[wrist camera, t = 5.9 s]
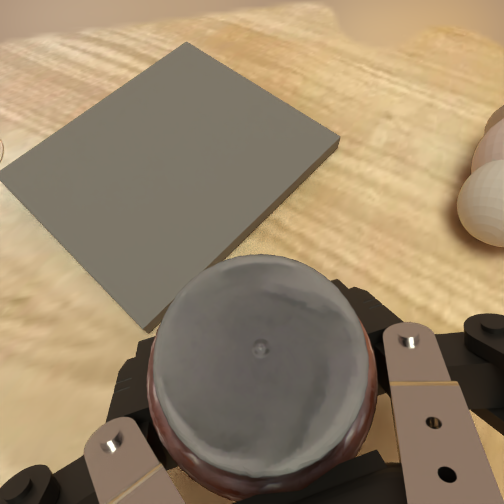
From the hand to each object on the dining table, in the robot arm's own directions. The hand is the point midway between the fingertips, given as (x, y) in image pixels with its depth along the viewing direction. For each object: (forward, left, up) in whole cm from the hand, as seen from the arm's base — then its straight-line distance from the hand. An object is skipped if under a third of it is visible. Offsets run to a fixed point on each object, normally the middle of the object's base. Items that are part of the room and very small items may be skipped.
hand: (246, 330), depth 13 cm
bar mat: (+5, +12, -5) cm, 14 cm away
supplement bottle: (-1, -1, -5) cm, 5 cm away
